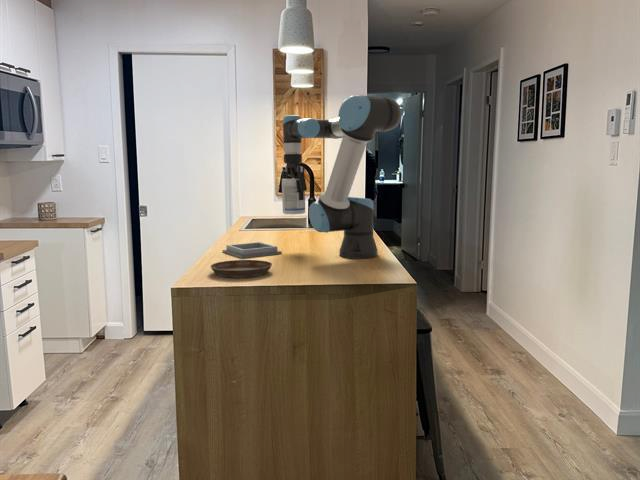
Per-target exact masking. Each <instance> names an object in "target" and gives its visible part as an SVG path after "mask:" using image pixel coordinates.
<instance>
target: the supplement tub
mask: <svg viewBox="0 0 640 480" xmlns="http://www.w3.org/2000/svg"><path fill="white" fill-rule="evenodd" d="M296 180H299V179H294V178H292V179H282V178H281V183H282V190H281V199H282V200H281V202H282V213H283V215H303V214H305V213H306V191H304V193H303V195H304V199H303V205H304V208H297V191H298V190H297V184H296Z"/></svg>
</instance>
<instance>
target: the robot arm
mask: <svg viewBox="0 0 640 480" xmlns="http://www.w3.org/2000/svg"><path fill="white" fill-rule="evenodd" d="M337 116H338V117H336V118H332V119H320V118H319V119H318V118H313V117H312V118H311V117H308V118H307V117H306V118H302V117H301V115H295V114H294V115H293V114H291V115H289V114H288V115H284V117H283V119H282V120H283V121H282V133H283V135H282V136H283V141H282V142H283V153H284V154H283V163H284V164H286V166H282V167H281V168H282V169H281V170H282V176H281V180H282V179H299V180H296V184H297V190H298V191H297V208H304V205H303V199H304V195H303V193H304V191H305V192H306V191H307V190H308V189H307V183H306V175H305V167H304V166H301V165H300V164H302V162H303V155H302V154H301V153H303V152H302V151H303V149H302V147H303V145H302V141H303V139H332V140H334V139H341V143H340V144H339V145H340V146H339V148H338V152H337V155H336V158H335V160H334V165H333V167H332V171H331V172H330V176H329V177H330V178H329V180H328V182H327V186H326V188H325V191H323V192H321V193H320V195H319V197H318V198H319V199H318V201H316V200H315V201H314V202H311V203H310V205H309V209H308V218H309V221H310V224H311V226H312V228H313V229H314V230H315V231H316V232H317V233H327V234H328V233H331V232H341V231H343V238H342V241H341V245H340V247H339V256H340V257H342V258H347V259H370V258H376V257H378V254H379V253H378V252H379V251H378V248H377V243H376V242H375V238H374V215H375V214H374V211H375V209H374V201H373V200H372V199H371V198H364V197H354V196H350V193H351V190H352V186H353V185H354V184H353V183H354V181H355V178H356V176H357V173H358V169H359V167H360V164H361V161H362V158H363V155H364V152H365V149H366V146H367V144H368V143H370V142H372V141H373V140H374V137H375V134H376V132H388V131H391V130H394V129H395V128H396V127H398V125H399V124H400V122H401V120H402V110H401V106H400V105H399V104H398V102H397V101H396V100H394V99H393V98H390V97H387V96H373V95H372V96H371V95H370V96H369V95H364V94H359V95H350V96H349V97H346V99H344V100H343V102H342V103H341V105H340V107H339V110H338V115H337ZM280 190H281V191H282V182H281V184H280Z"/></svg>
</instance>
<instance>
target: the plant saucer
mask: <svg viewBox="0 0 640 480" xmlns="http://www.w3.org/2000/svg"><path fill="white" fill-rule="evenodd" d="M272 265H273V263H272V262H270V261H266V260H260V259H259V260H257V259H238V260H237V259H235V260H233V259H232V260H225V261H219V262H216V263H215V262H214V263H212V264H211V265H210V268H211V270H212V272H214V274H216V275H217V276H219V277H221V278H230V279H231V278H232V279H244V278H245V279H247V278H255V277H259V276H263V275H265V274H266V273H267V272H268V271H269V270H270V269H271V267H272Z"/></svg>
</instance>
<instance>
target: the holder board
mask: <svg viewBox="0 0 640 480" xmlns="http://www.w3.org/2000/svg"><path fill="white" fill-rule="evenodd" d="M225 246H226V249H222V253H224V254H226V255H230V256H232V257H236V258H239V259H240V260H244V259H250V258H258V257H259V258H260V257H267V256H268V257H269V256H275V255H276V256H277V255H282V254H283V252H282V251H281V250H279V249H278V246H277V245H274V244H273V245H272V244H269V243H264V242H263V241H262V242H261V241H256V242H247V243H245V242H244V243H236V244H227V245H225Z"/></svg>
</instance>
